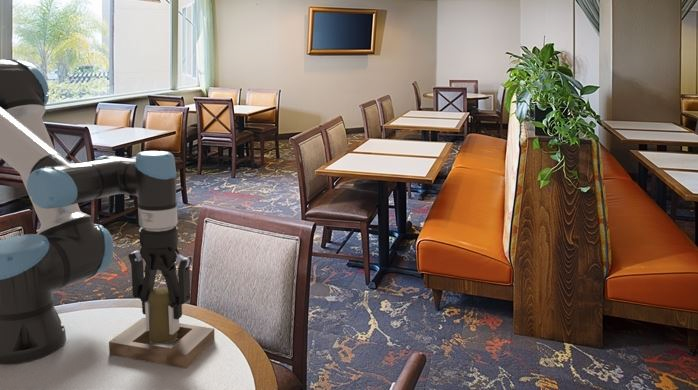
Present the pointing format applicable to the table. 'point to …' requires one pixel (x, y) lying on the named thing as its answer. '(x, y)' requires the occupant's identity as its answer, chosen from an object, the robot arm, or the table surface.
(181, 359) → the brown picture frame
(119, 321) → the table surface
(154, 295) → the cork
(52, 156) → the robot arm
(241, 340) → the table surface
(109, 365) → the table surface
